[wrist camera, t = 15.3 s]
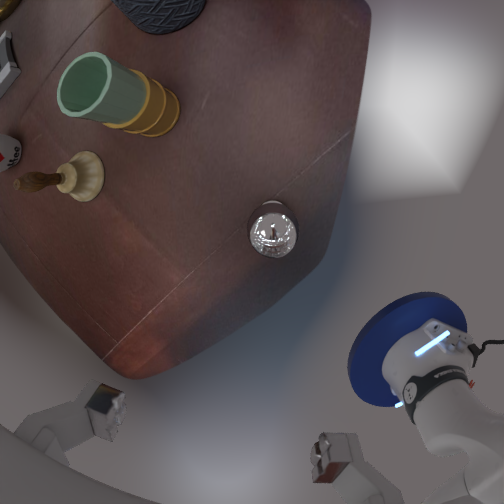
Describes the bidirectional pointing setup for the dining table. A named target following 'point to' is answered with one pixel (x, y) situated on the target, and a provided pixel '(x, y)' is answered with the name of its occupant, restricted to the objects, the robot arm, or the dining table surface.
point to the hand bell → (69, 177)
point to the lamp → (7, 8)
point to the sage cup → (100, 90)
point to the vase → (160, 13)
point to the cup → (9, 152)
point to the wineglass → (273, 229)
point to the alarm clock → (7, 64)
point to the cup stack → (153, 111)
